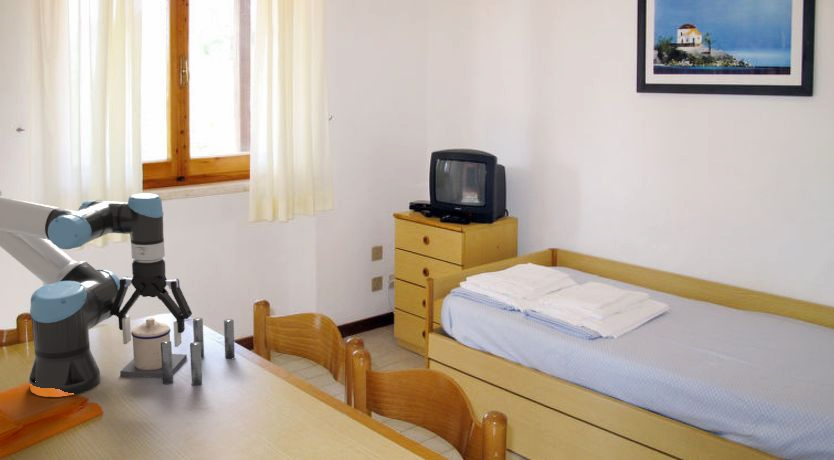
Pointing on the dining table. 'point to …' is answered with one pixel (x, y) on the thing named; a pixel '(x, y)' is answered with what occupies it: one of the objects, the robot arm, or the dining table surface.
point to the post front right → (196, 363)
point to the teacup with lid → (149, 344)
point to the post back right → (229, 338)
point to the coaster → (135, 372)
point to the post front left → (166, 362)
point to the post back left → (198, 333)
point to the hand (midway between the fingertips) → (152, 343)
